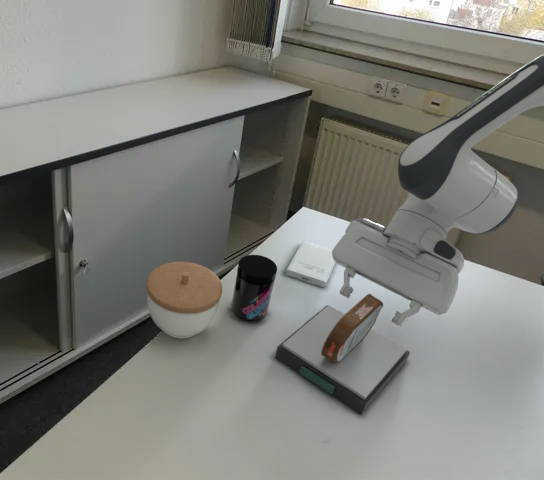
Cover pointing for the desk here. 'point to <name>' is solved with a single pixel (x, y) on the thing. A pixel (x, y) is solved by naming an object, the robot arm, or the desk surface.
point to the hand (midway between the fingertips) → (369, 309)
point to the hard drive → (311, 264)
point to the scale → (343, 361)
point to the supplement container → (253, 287)
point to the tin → (351, 329)
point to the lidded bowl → (183, 298)
